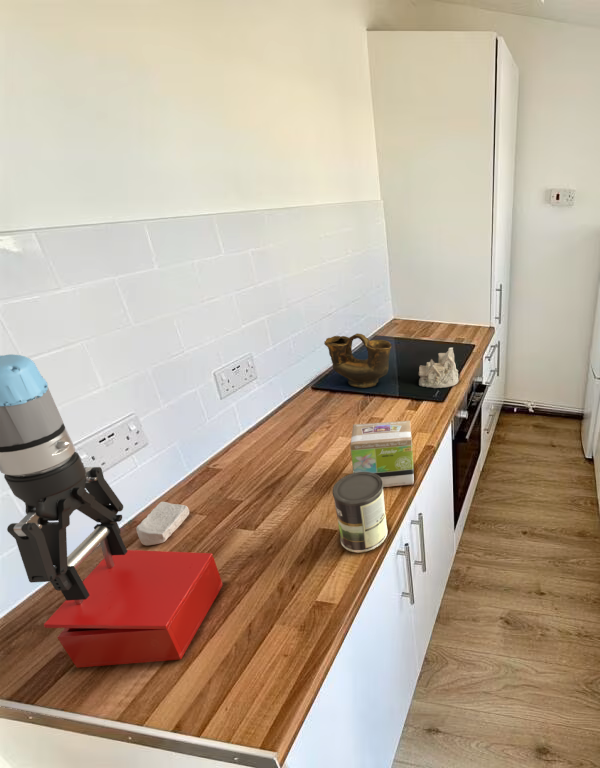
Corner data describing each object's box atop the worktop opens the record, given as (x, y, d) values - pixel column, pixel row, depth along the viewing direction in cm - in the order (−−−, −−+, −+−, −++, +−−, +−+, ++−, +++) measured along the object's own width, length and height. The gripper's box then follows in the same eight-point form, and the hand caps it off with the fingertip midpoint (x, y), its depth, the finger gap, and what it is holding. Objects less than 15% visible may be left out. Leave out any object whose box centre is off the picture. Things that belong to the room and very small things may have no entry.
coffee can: (341, 558, 92) (332, 507, 86) (340, 524, 101) (332, 476, 94) (390, 546, 95) (385, 497, 89) (385, 515, 104) (380, 467, 98)
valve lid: (44, 628, 65) (26, 583, 61) (112, 552, 78) (101, 511, 74) (166, 629, 68) (156, 586, 64) (212, 556, 81) (207, 516, 77)
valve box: (76, 668, 70) (56, 637, 66) (136, 590, 83) (122, 561, 79) (181, 659, 72) (167, 629, 68) (223, 584, 85) (213, 556, 81)
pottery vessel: (324, 385, 163) (317, 336, 154) (337, 374, 173) (331, 326, 164) (389, 391, 162) (385, 341, 153) (398, 379, 171) (395, 331, 163)
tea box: (355, 492, 111) (348, 444, 104) (357, 468, 119) (351, 423, 113) (414, 485, 114) (412, 438, 108) (413, 462, 123) (410, 418, 117)
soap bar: (165, 554, 95) (159, 542, 91) (133, 548, 94) (126, 536, 90) (192, 513, 102) (188, 501, 98) (163, 507, 101) (157, 494, 97)
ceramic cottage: (460, 371, 181) (458, 337, 174) (456, 390, 166) (453, 354, 159) (423, 371, 181) (419, 338, 174) (416, 390, 166) (411, 355, 159)
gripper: (2, 513, 52) (74, 633, 62) (121, 423, 71) (162, 527, 81) (-70, 515, 51) (15, 637, 61) (70, 423, 70) (118, 528, 80)
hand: (98, 574), depth 71 cm, fingers closed on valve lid, 8 cm apart
